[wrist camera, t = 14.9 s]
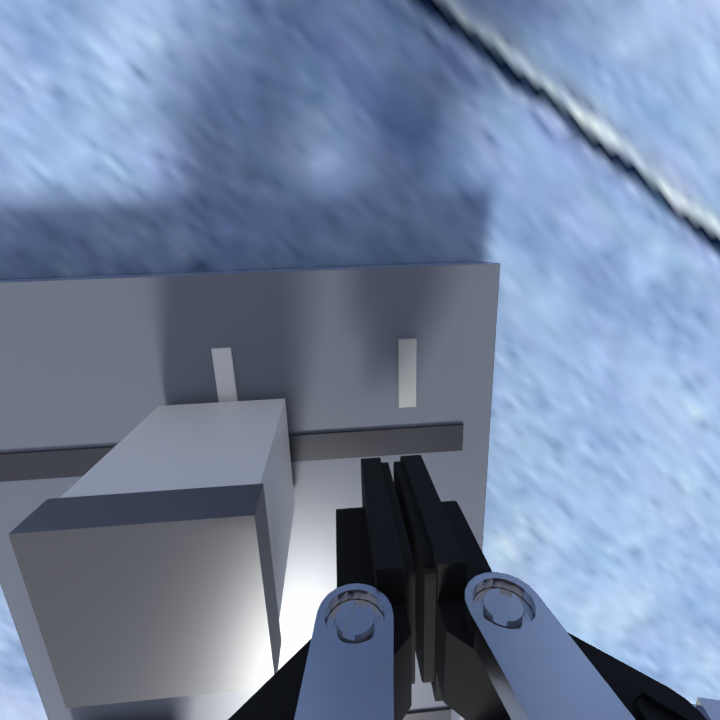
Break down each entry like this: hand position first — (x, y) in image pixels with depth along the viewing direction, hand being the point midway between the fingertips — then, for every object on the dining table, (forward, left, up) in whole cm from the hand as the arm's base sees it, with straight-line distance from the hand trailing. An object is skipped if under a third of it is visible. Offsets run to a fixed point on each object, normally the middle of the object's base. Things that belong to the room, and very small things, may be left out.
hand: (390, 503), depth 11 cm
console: (+5, +7, -5) cm, 10 cm away
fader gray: (+5, 0, -3) cm, 6 cm away
